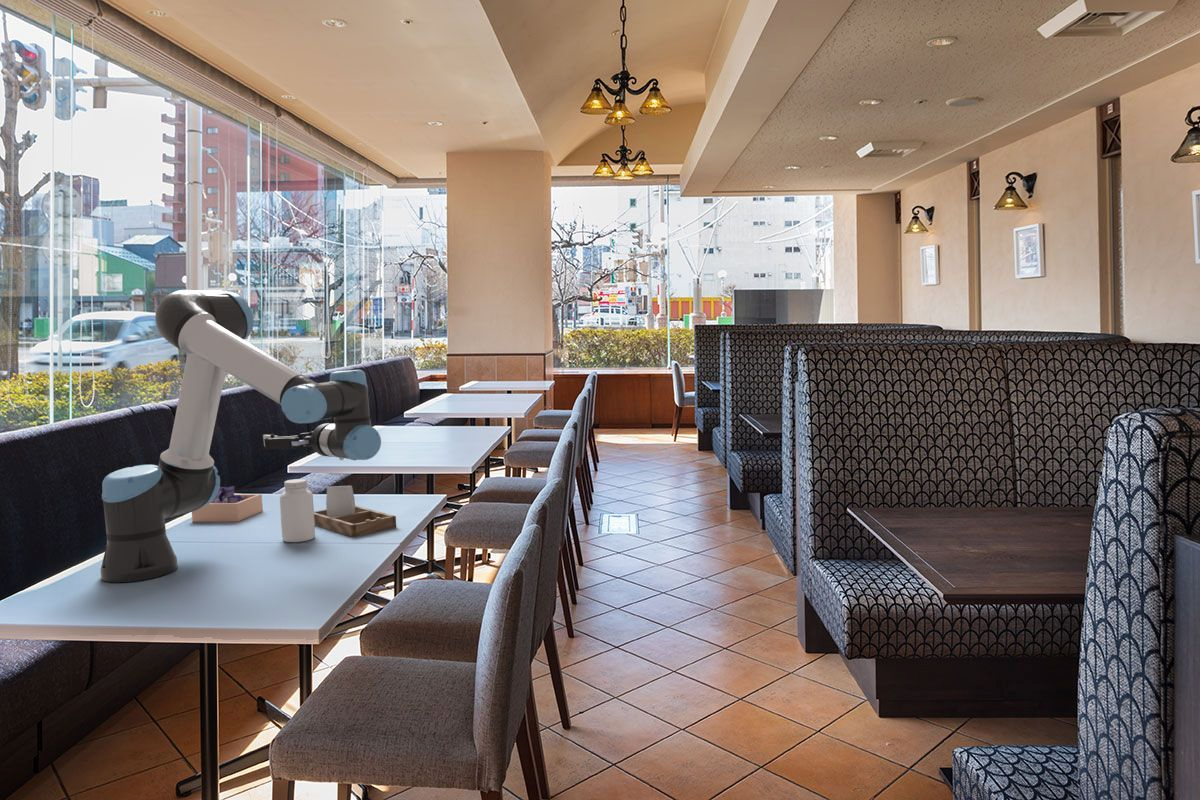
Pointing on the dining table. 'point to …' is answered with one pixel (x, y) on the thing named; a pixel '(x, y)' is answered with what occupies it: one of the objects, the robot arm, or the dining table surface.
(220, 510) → the flower planter
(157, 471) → the robot arm
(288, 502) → the pill bottle
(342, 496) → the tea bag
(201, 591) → the dining table surface
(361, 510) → the slot rack
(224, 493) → the flower
